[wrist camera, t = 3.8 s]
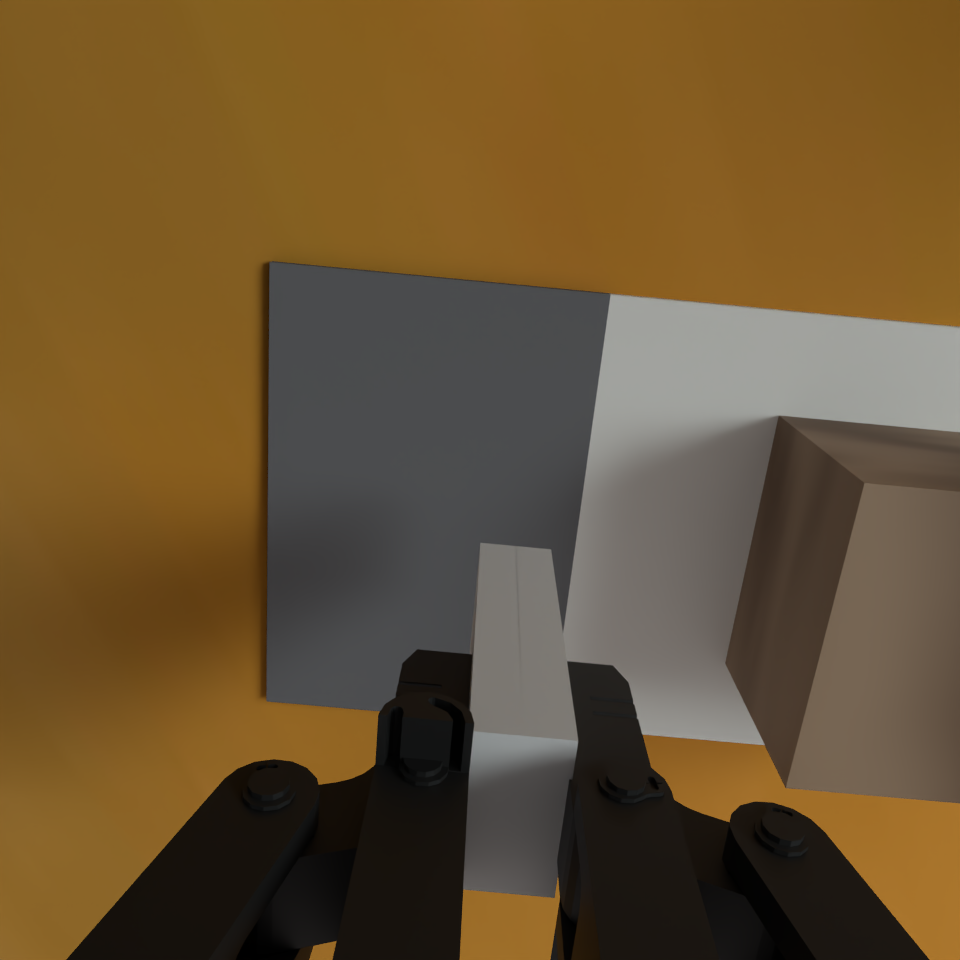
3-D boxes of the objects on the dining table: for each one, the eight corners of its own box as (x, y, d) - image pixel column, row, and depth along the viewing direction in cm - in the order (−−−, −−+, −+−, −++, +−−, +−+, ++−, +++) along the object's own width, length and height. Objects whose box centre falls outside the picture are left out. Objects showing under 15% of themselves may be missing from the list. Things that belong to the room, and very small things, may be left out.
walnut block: (725, 663, 23) (785, 788, 18) (778, 415, 20) (864, 483, 16) (978, 686, 23) (1105, 815, 18) (1061, 441, 20) (1230, 517, 16)
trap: (271, 689, 24) (266, 701, 23) (276, 259, 20) (269, 262, 19) (548, 713, 24) (549, 726, 23) (607, 291, 20) (610, 294, 19)
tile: (548, 713, 24) (549, 726, 23) (607, 291, 20) (610, 294, 19) (1095, 761, 24) (1110, 775, 24) (1260, 353, 20) (1282, 358, 20)
